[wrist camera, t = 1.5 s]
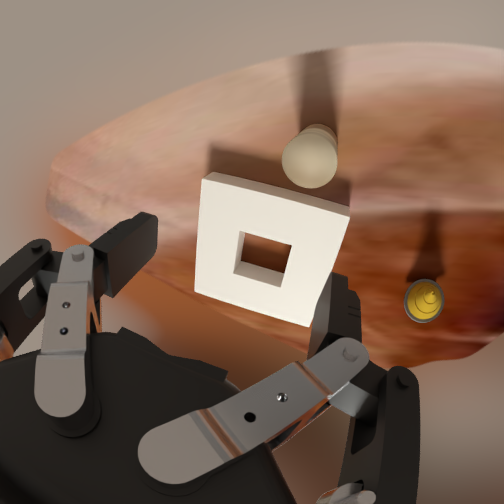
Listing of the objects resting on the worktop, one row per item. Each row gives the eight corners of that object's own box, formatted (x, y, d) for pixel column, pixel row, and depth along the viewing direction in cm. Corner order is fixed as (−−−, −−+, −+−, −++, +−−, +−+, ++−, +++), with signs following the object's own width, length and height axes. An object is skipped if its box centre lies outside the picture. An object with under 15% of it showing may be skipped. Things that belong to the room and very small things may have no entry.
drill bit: (394, 303, 36) (398, 291, 27) (421, 276, 35) (432, 256, 26) (419, 332, 33) (430, 329, 24) (446, 304, 32) (464, 292, 24)
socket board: (213, 171, 33) (202, 178, 31) (349, 206, 31) (350, 217, 28) (203, 279, 42) (194, 291, 39) (311, 312, 39) (308, 327, 37)
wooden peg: (303, 119, 27) (287, 129, 19) (341, 129, 27) (343, 143, 19) (295, 155, 30) (277, 180, 21) (332, 165, 29) (329, 194, 21)
